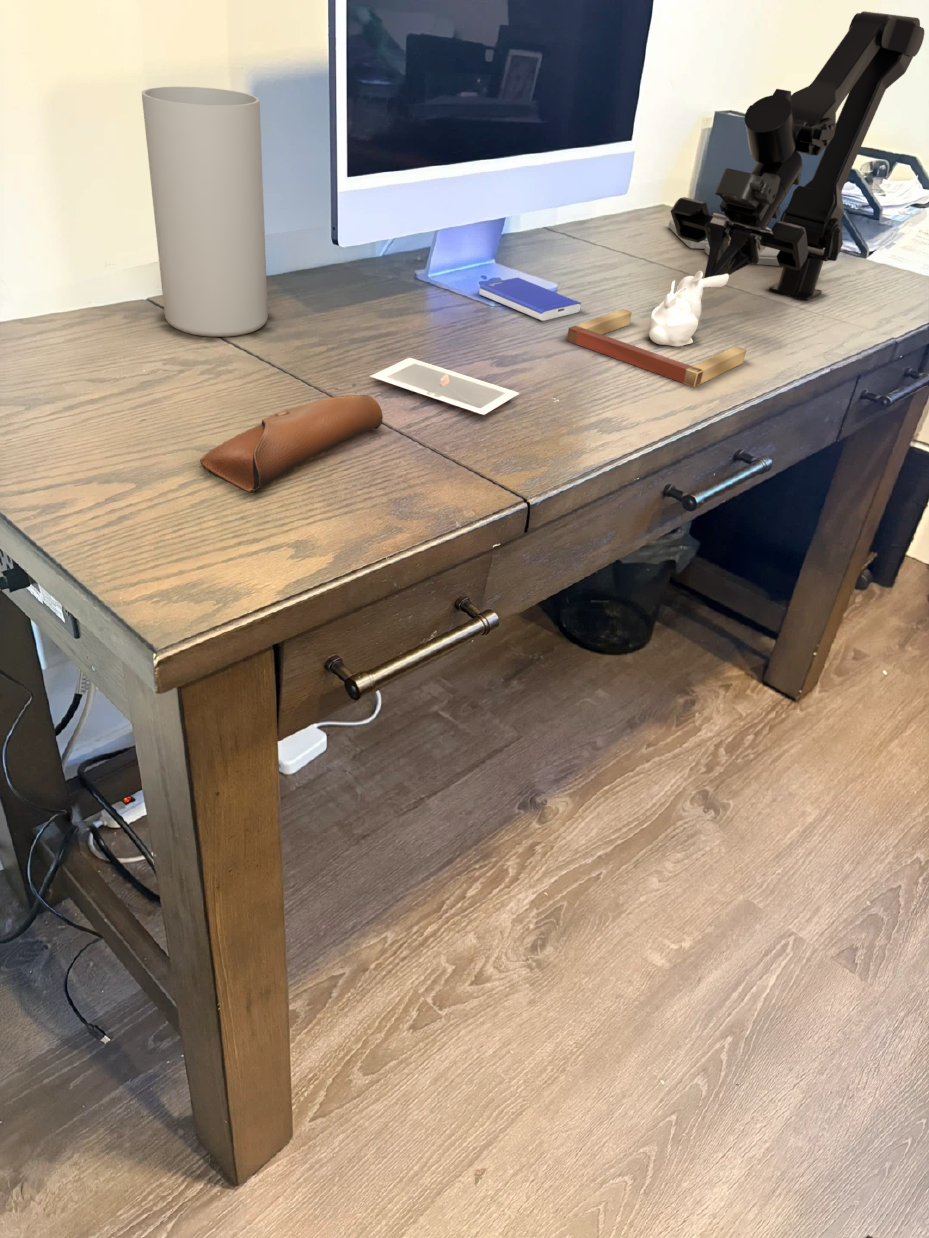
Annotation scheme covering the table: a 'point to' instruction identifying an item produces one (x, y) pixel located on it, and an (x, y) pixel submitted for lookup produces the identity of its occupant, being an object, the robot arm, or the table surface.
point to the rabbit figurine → (681, 310)
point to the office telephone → (764, 258)
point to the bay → (693, 376)
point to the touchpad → (446, 385)
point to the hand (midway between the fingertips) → (706, 285)
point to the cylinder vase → (208, 208)
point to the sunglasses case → (291, 439)
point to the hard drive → (530, 298)
